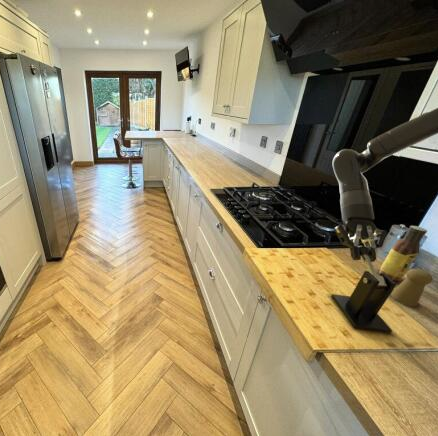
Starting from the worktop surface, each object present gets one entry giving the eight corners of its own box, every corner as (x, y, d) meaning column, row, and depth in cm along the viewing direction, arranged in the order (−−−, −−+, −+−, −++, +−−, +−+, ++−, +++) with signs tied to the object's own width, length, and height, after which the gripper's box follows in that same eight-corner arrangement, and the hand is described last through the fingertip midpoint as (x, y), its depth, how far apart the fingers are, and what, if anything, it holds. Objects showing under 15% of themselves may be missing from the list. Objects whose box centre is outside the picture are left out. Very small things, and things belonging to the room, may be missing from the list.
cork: (389, 297, 76) (407, 270, 71) (392, 289, 80) (409, 263, 75) (415, 309, 72) (436, 281, 67) (417, 300, 75) (437, 273, 71)
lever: (351, 248, 73) (358, 243, 70) (362, 250, 72) (369, 244, 70) (368, 288, 65) (377, 283, 62) (381, 290, 64) (390, 285, 62)
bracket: (330, 296, 75) (348, 261, 69) (361, 300, 74) (382, 265, 68) (353, 328, 65) (377, 290, 59) (390, 333, 64) (418, 295, 57)
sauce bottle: (398, 284, 82) (431, 235, 73) (375, 274, 87) (403, 227, 78) (402, 277, 86) (434, 229, 77) (380, 268, 90) (407, 222, 82)
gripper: (340, 200, 72) (347, 255, 67) (391, 204, 70) (402, 262, 65) (324, 209, 79) (330, 259, 74) (371, 213, 77) (379, 265, 72)
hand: (364, 260), depth 69 cm, fingers closed on lever, 3 cm apart
